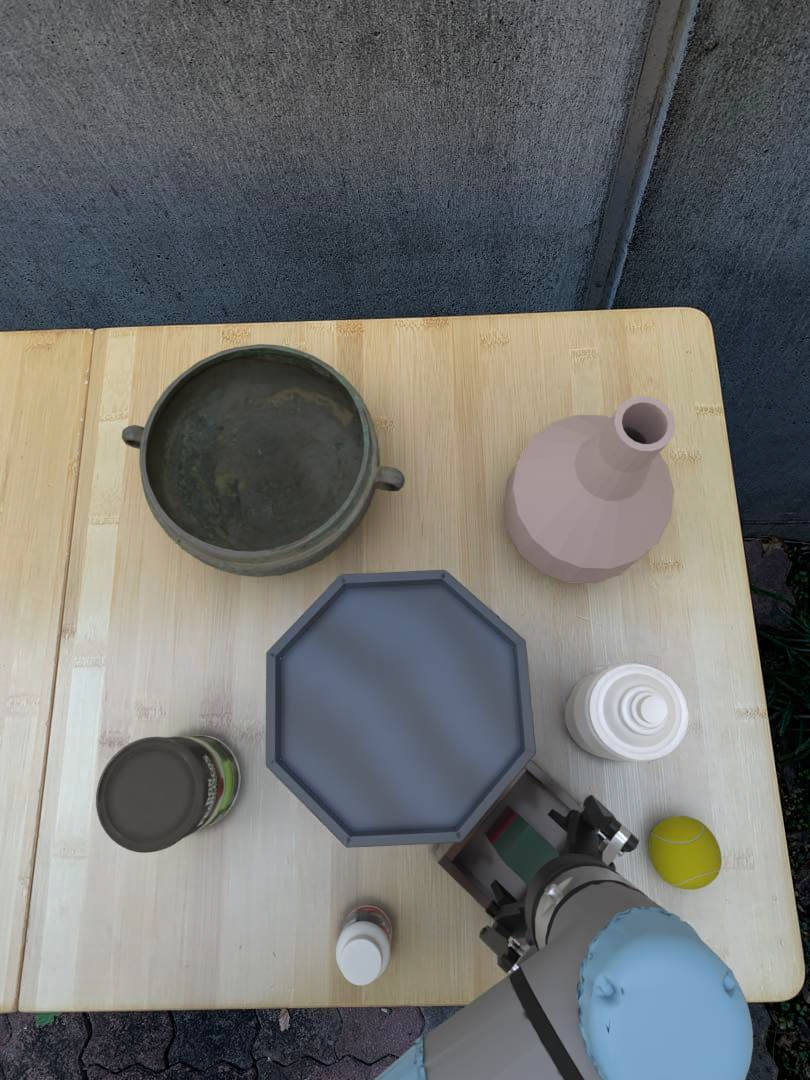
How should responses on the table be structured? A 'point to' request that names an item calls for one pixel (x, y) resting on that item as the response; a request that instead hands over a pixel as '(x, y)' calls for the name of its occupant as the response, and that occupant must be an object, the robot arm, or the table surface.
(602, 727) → the white stepped cylinder
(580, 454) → the vase
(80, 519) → the table surface
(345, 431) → the bowl
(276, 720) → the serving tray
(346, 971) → the pill bottle
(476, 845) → the holder
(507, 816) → the red rectangular block
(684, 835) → the tennis ball
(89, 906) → the table surface
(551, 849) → the packet green
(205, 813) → the coffee can
